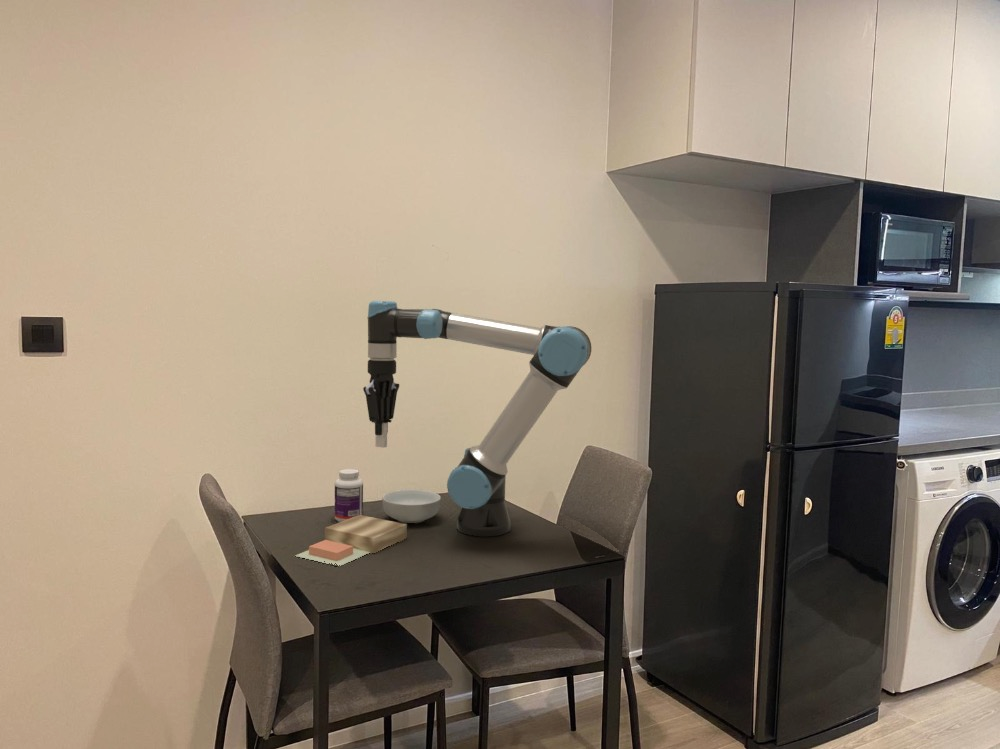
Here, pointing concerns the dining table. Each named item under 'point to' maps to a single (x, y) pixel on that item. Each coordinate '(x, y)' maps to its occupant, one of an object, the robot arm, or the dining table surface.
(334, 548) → the pink rectangular block
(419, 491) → the cereal bowl
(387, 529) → the wooden block
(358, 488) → the pill bottle
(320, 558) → the mat
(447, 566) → the dining table surface
